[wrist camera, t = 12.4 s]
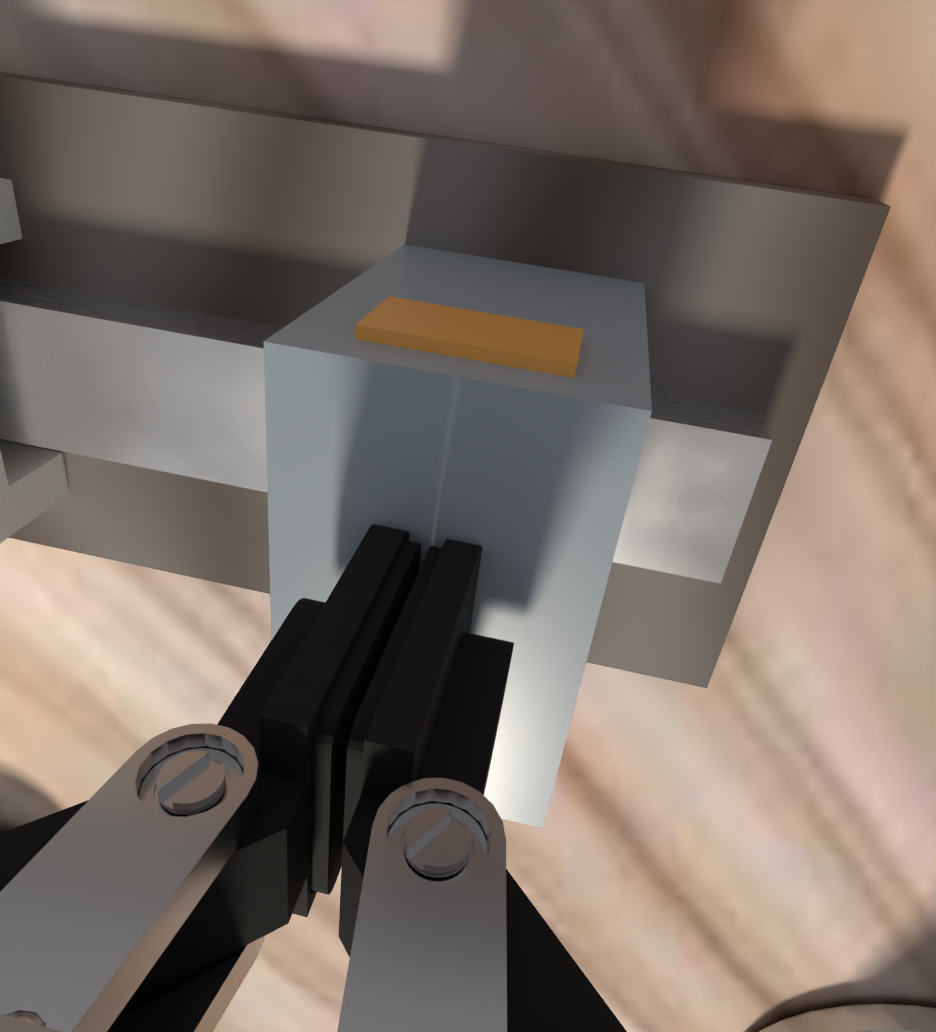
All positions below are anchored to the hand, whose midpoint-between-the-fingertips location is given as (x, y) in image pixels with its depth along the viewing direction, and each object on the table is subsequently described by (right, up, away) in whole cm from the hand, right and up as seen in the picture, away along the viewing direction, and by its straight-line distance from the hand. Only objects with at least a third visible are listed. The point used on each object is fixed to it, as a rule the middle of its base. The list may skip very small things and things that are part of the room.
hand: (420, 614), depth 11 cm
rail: (-4, +5, +8) cm, 10 cm away
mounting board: (-4, +5, +8) cm, 10 cm away
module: (+1, +3, +6) cm, 7 cm away
